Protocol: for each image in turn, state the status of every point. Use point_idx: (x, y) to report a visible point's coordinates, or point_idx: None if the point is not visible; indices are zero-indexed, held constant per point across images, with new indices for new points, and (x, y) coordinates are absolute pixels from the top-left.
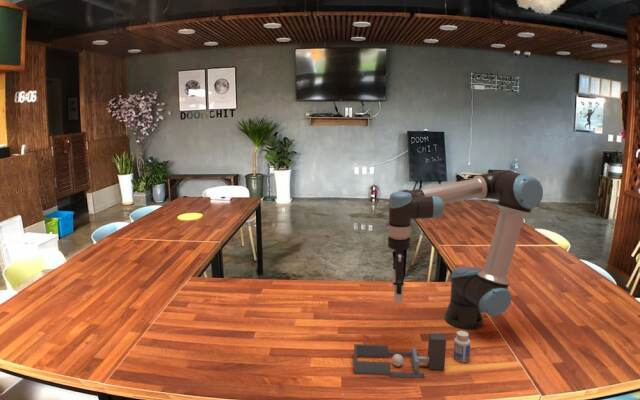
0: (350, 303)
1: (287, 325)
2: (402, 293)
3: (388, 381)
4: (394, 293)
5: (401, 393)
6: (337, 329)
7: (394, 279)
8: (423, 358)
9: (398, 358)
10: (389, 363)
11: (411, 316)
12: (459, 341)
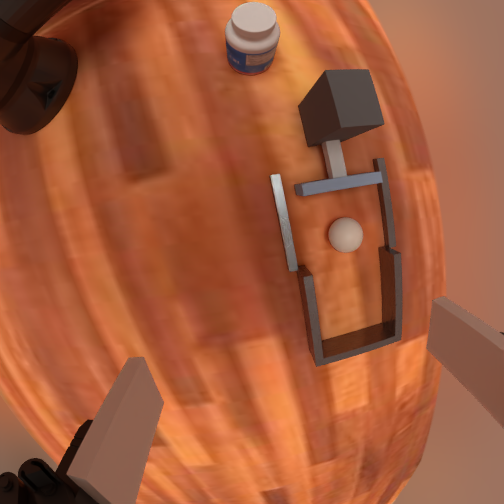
0: (58, 385)
1: (219, 471)
2: (487, 326)
3: (407, 246)
4: (458, 379)
5: (438, 213)
6: (193, 405)
7: (143, 439)
8: (340, 157)
9: (361, 234)
10: (399, 256)
11: (42, 227)
12: (274, 35)
